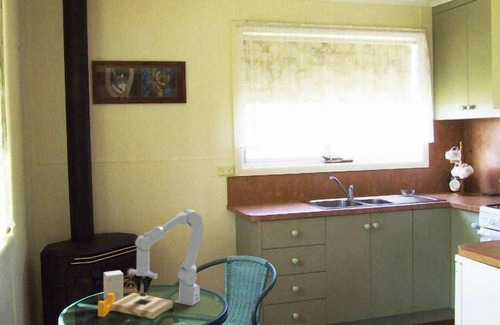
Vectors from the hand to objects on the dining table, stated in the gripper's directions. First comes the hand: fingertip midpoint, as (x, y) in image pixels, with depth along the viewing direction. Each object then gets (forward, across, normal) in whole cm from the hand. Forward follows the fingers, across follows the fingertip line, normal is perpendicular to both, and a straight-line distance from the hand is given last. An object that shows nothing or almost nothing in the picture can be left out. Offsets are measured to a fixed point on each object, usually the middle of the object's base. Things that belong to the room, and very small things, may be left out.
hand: (142, 291), depth 233 cm
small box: (+8, -19, +3) cm, 21 cm away
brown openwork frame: (+8, -18, +15) cm, 25 cm away
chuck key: (+2, 0, 0) cm, 2 cm away
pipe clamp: (+8, -13, -11) cm, 19 cm away
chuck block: (+8, 0, 0) cm, 8 cm away
